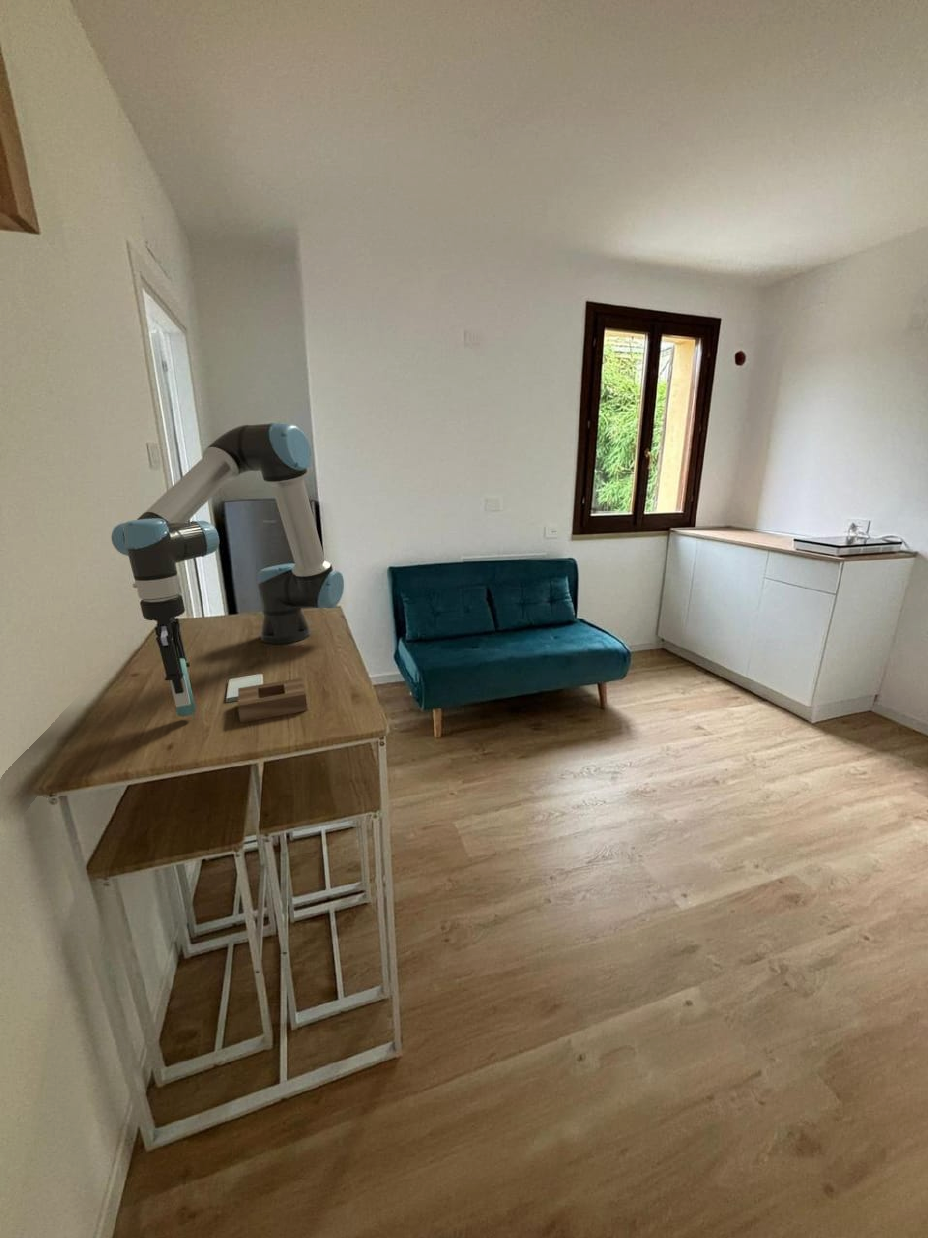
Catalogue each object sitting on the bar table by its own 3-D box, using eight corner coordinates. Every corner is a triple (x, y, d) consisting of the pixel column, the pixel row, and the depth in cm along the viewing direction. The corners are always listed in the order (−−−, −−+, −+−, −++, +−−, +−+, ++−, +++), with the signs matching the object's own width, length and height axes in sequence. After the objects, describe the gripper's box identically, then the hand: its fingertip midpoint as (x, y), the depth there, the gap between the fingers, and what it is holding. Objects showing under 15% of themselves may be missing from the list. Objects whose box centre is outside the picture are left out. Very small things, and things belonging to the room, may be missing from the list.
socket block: (241, 703, 119) (238, 688, 118) (303, 692, 124) (301, 677, 123) (240, 723, 110) (237, 706, 109) (307, 710, 115) (305, 693, 114)
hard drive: (262, 692, 123) (262, 673, 134) (225, 698, 120) (228, 678, 131) (263, 698, 123) (263, 679, 134) (226, 704, 120) (229, 684, 131)
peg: (178, 710, 113) (167, 660, 109) (196, 707, 114) (185, 657, 110) (176, 717, 109) (164, 666, 106) (195, 714, 111) (183, 663, 107)
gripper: (146, 590, 109) (169, 689, 117) (131, 610, 95) (159, 722, 102) (185, 585, 112) (206, 683, 119) (176, 604, 97) (200, 714, 105)
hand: (184, 701), depth 111 cm, fingers closed on peg, 3 cm apart
